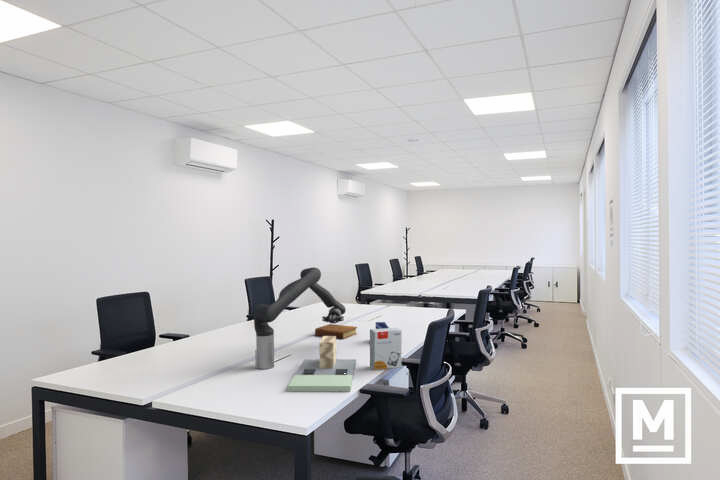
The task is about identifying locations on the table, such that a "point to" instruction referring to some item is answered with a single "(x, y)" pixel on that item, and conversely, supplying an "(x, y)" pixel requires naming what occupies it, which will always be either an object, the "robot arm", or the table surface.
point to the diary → (336, 331)
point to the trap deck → (323, 376)
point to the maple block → (327, 351)
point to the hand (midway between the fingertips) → (331, 321)
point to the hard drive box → (385, 348)
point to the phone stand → (381, 325)
